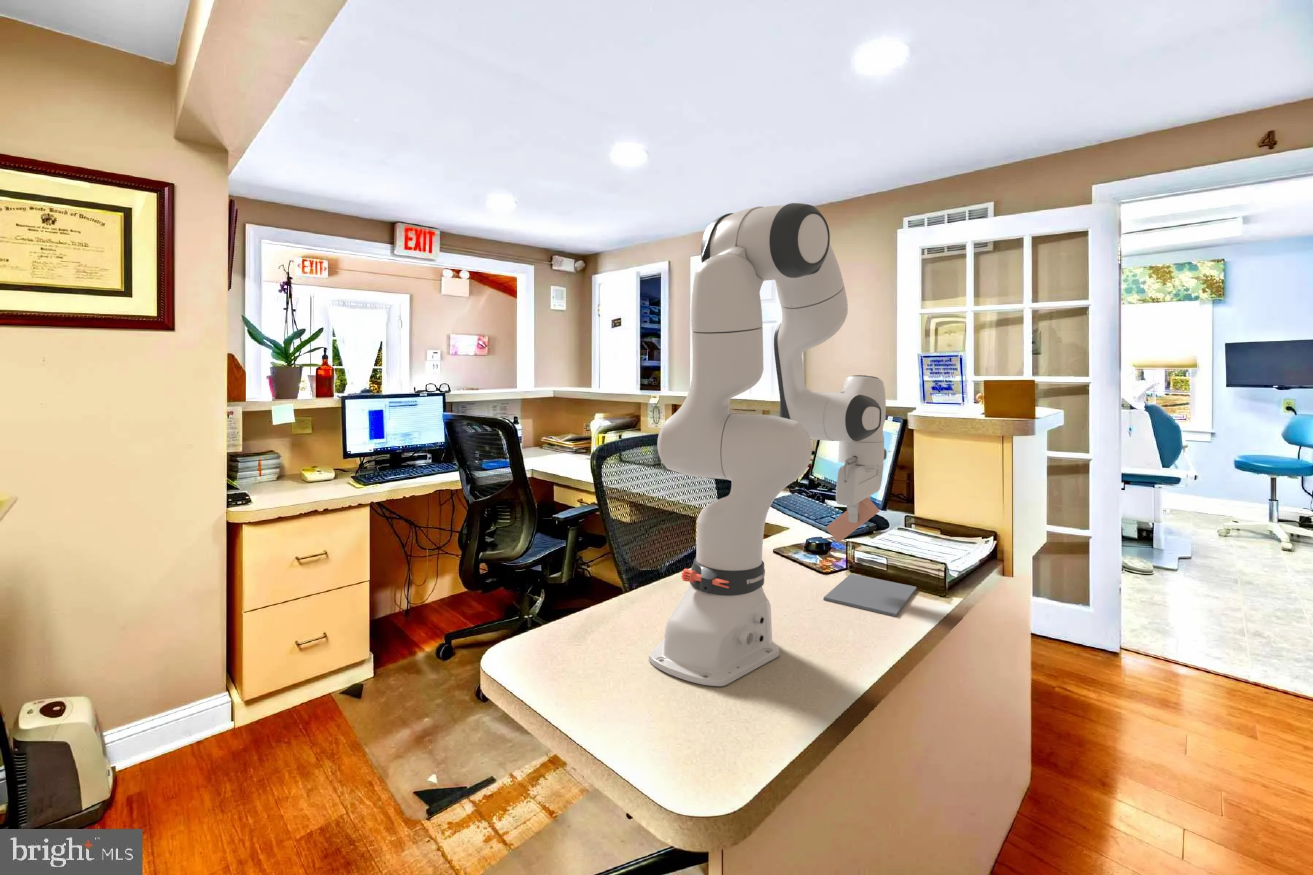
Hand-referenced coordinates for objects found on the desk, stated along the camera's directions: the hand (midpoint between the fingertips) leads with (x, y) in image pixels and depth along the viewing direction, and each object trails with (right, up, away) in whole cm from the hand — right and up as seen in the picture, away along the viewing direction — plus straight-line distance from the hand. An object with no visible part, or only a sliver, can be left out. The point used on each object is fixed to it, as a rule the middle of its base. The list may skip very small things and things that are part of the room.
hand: (858, 519), depth 120 cm
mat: (+3, -16, -1) cm, 16 cm away
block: (-4, -3, +3) cm, 6 cm away
